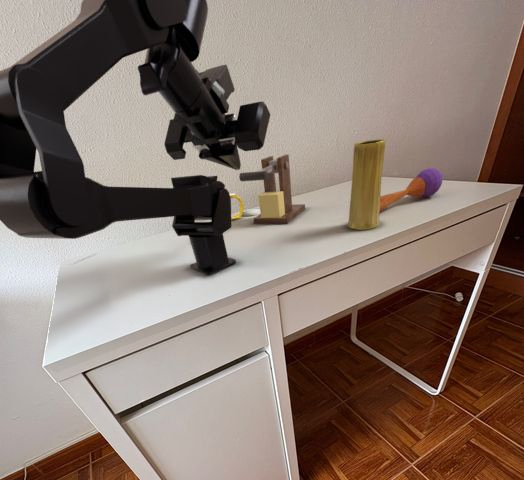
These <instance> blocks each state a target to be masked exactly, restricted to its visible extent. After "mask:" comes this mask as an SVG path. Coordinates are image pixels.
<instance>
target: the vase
mask: <svg viewBox="0 0 524 480" xmlns="http://www.w3.org/2000/svg"><path fill="white" fill-rule="evenodd" d="M385 151H386V139H383V138H381V139H380V138H379V139H378V138H377V139H370V140H364V141H359V142H355V143H354V144H353V155H352V156H353V158H352V172H351V173H352V174H351V189H350V202H349V213H348V223H347V227H348V228H349V229H351V230H356V231H367V230H372V229H375V228H377V227H378V226H379V225H380V212H381V211H380V196H381V194H382V193H381V192H382V178H383V170H384V159H385Z"/></svg>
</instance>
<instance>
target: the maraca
mask: <svg viewBox="0 0 524 480" xmlns="http://www.w3.org/2000/svg"><path fill="white" fill-rule="evenodd" d="M443 180H444V178H443V174H442V172H441V171H440V170H439V169H437V168H434V167H429V168H426V169H424V170H421V171H420V172H419V173H418V174H417V175H416V176H415V178H413V179H412V180H411V181H410V183H409V184H408V185H407V186H406V188H405V189H404V190H400V191H395V192H392V193H388V194H383V195H380V211H379V212H381V211H382V210H385V209H386V208H388V207H389V206H391V205H393V204H394V203H396V202H397V201H399V200H400V199H402V198H405V196H410V197H414V198H429V197H432V196H434V195H435V194H436V193H437V192H438V191H439V190H440V188H441V186H442V185H443Z"/></svg>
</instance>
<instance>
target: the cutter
mask: <svg viewBox="0 0 524 480" xmlns="http://www.w3.org/2000/svg"><path fill="white" fill-rule="evenodd" d="M273 159H274V155H270V156H269V155H268V156H266V157H264V158H261V159H260V163H261V169H263V168H265V167H267V166H269V161H271V160H273ZM276 159H277V164H278V173H277V175H278V186H279V191H283V195H284V207H285V214H284V215H283V216H282V217H280V218H261V213H260V214H258V215H257V216H255V217H253V224H254V225H255V224H256V225H257V224H259V225H261V224H262V225H270V224H271V225H287V224H289V223H291V221H293V220H294V219H295V218H296V217H298V216H299V215H300V214H301V213H302V212H304V211H305V210H306V204H304V203H303V204H301V203H300V204H299V203H298V204H293V201H292V200H293V199H292V184H291V168H290V155H289V154H284V155H281V156H279V157H276ZM262 181H263V187H264V188H263V189H264V192H277V183H276V173H271V174H270V172H269V173H268V178H267V180H262Z"/></svg>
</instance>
